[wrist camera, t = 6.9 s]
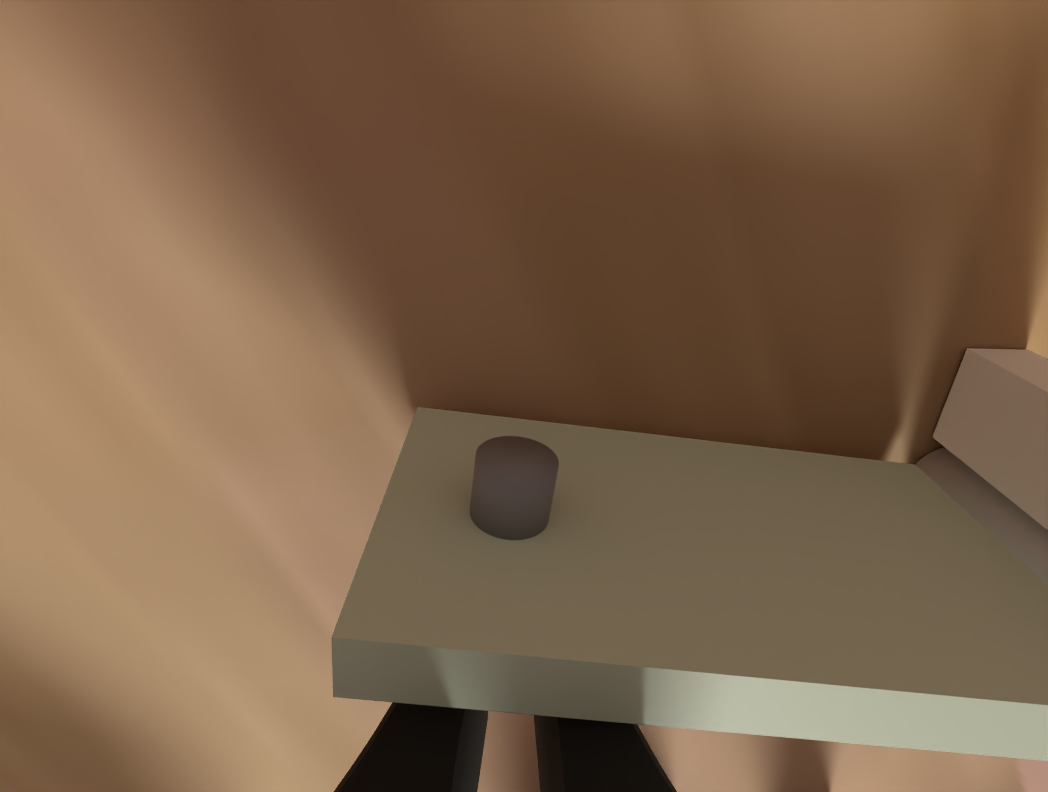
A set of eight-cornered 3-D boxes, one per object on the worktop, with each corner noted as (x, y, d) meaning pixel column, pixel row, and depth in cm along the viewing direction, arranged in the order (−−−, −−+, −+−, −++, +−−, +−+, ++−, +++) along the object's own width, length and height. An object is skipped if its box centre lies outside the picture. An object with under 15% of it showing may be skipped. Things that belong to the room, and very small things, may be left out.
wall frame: (767, 841, 19) (873, 1165, 13) (957, 348, 11) (1423, 606, 5) (815, 842, 19) (942, 1166, 13) (1038, 350, 11) (1593, 610, 5)
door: (419, 360, 11) (328, 569, 6) (936, 422, 11) (1251, 662, 6) (415, 449, 12) (333, 697, 7) (894, 504, 12) (1142, 768, 7)
